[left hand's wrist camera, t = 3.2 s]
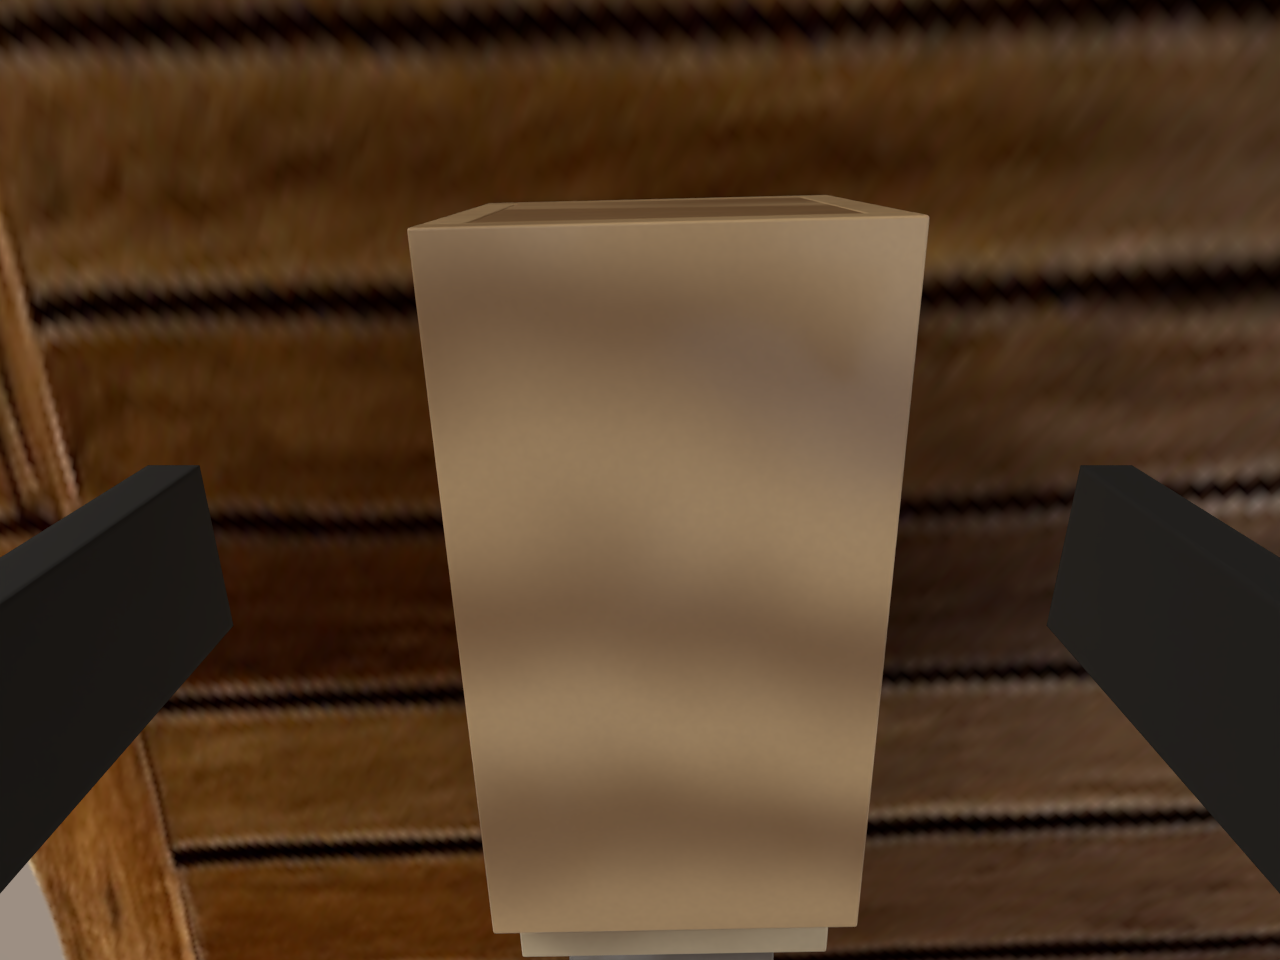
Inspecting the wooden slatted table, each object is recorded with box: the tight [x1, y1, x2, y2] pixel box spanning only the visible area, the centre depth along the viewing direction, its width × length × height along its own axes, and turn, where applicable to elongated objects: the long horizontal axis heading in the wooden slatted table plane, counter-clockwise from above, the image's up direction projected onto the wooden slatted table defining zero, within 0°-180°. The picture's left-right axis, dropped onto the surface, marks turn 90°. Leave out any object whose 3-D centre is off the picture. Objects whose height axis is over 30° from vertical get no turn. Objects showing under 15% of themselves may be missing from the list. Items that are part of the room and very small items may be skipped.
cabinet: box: [407, 195, 929, 933], centre depth 27 cm, size 21×12×10 cm, turn 1°
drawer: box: [520, 927, 828, 960], centre depth 29 cm, size 26×10×8 cm, turn 1°
